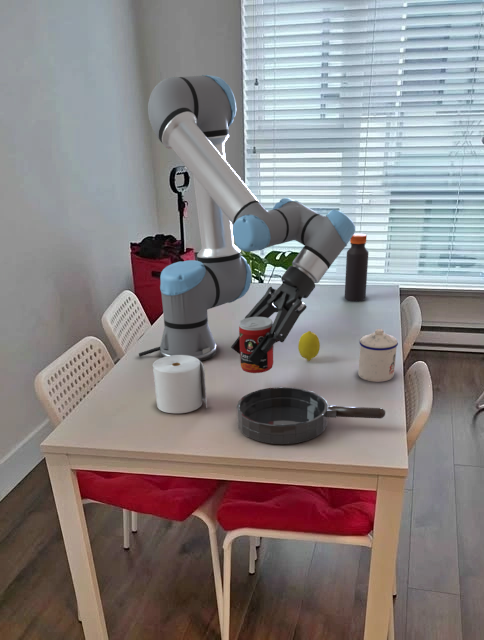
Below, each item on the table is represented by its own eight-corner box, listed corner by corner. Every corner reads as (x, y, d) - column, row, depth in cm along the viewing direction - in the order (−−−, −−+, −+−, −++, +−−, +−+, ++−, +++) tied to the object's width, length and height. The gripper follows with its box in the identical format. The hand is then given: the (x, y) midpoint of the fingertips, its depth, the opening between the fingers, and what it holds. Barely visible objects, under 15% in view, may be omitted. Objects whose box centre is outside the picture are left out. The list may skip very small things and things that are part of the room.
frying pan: (230, 443, 139) (229, 423, 136) (245, 403, 155) (244, 385, 152) (324, 447, 136) (325, 428, 133) (328, 406, 152) (329, 388, 149)
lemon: (318, 365, 173) (319, 335, 169) (296, 364, 174) (297, 334, 170) (320, 357, 178) (321, 327, 173) (299, 356, 179) (299, 327, 174)
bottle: (344, 301, 218) (347, 237, 207) (344, 295, 223) (347, 232, 213) (365, 302, 217) (369, 237, 206) (365, 295, 222) (369, 232, 212)
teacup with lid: (397, 382, 162) (402, 335, 156) (359, 383, 162) (362, 336, 156) (389, 363, 172) (393, 319, 166) (353, 364, 173) (356, 320, 166)
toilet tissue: (159, 394, 160) (155, 355, 155) (210, 393, 160) (207, 354, 155) (153, 414, 151) (149, 373, 146) (206, 413, 151) (204, 372, 146)
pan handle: (324, 418, 141) (324, 409, 140) (325, 412, 144) (325, 403, 143) (385, 421, 139) (385, 411, 138) (384, 415, 142) (385, 405, 141)
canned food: (235, 371, 157) (233, 325, 151) (248, 359, 163) (246, 315, 157) (266, 375, 154) (265, 329, 148) (277, 362, 160) (277, 317, 155)
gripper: (338, 295, 148) (276, 379, 150) (290, 275, 163) (233, 351, 166) (319, 274, 143) (254, 361, 145) (270, 256, 159) (213, 334, 161)
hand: (243, 356), depth 156 cm, fingers closed on canned food, 8 cm apart
